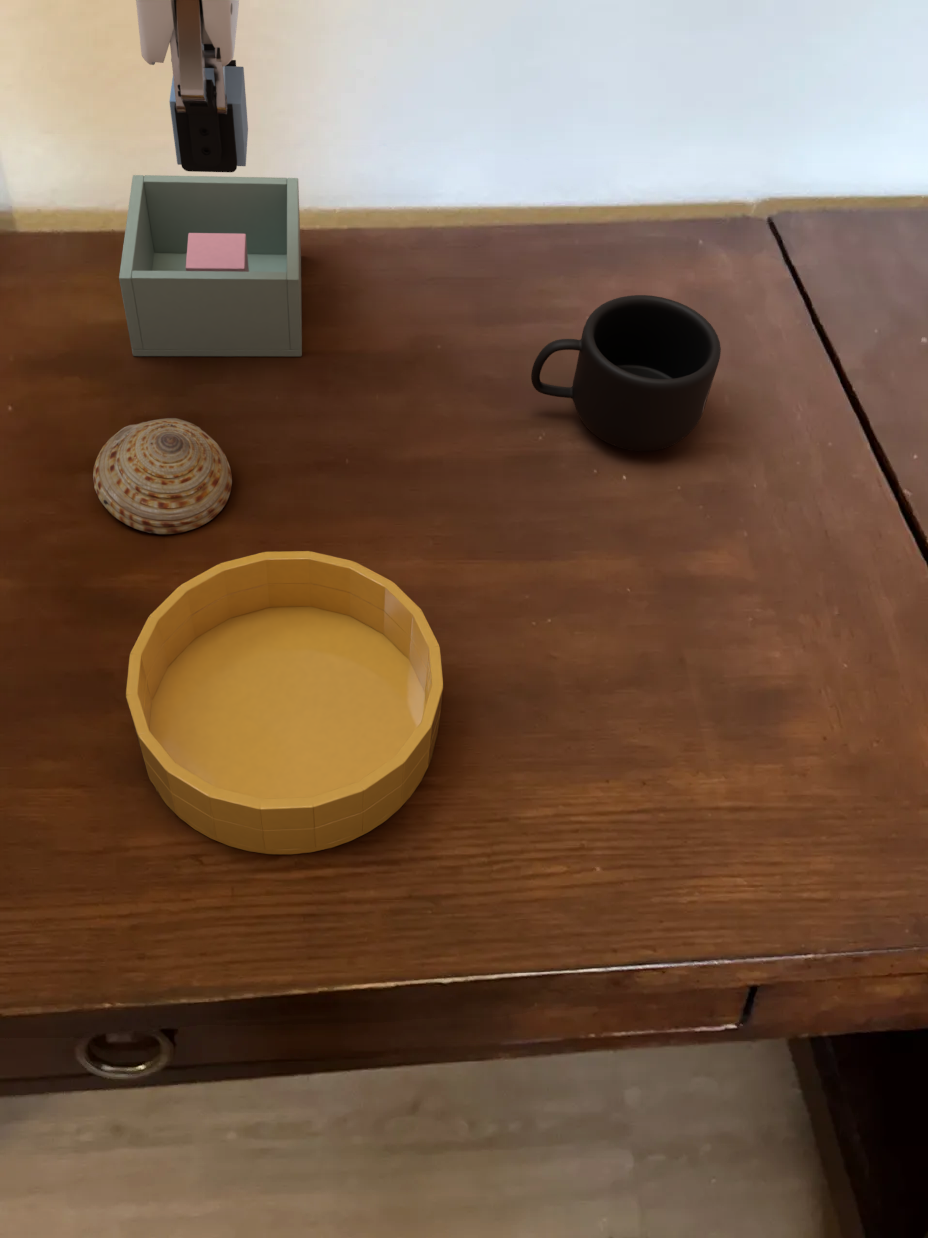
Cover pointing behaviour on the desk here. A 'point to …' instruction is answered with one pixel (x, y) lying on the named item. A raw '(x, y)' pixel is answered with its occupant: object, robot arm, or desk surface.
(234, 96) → the toy blue
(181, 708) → the bowl
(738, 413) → the desk surface
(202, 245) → the toy pink
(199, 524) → the seashell
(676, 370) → the mug
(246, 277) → the bin
